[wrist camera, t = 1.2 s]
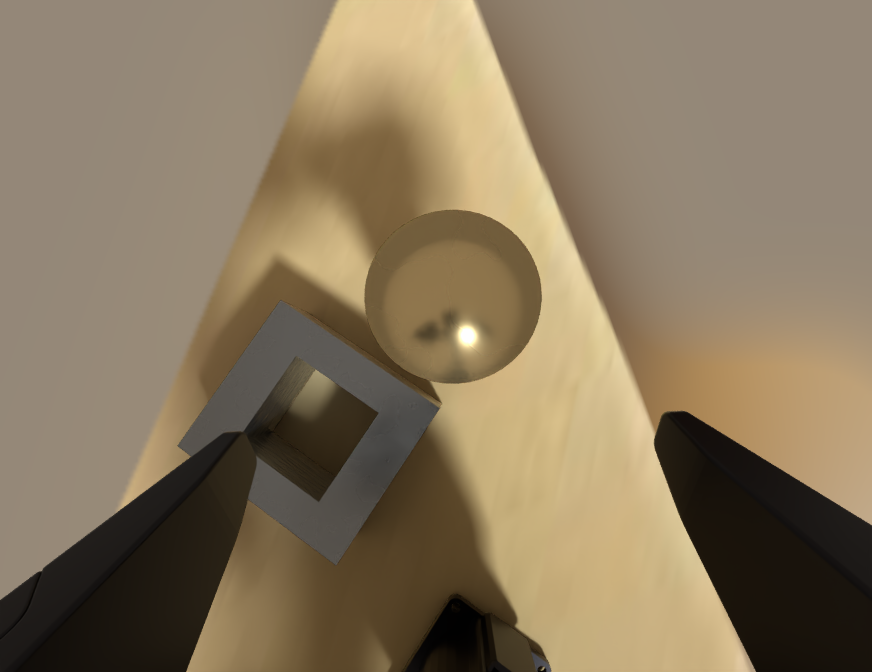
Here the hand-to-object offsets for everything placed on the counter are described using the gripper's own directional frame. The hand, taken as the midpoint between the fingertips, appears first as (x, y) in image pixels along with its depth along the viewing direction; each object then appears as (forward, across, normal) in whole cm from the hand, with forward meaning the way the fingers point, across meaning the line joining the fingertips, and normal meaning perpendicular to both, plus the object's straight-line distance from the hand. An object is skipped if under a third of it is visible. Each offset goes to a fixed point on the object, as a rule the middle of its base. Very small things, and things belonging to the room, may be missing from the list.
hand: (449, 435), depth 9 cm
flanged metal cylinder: (+14, 0, +7) cm, 16 cm away
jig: (+11, +7, +10) cm, 17 cm away
